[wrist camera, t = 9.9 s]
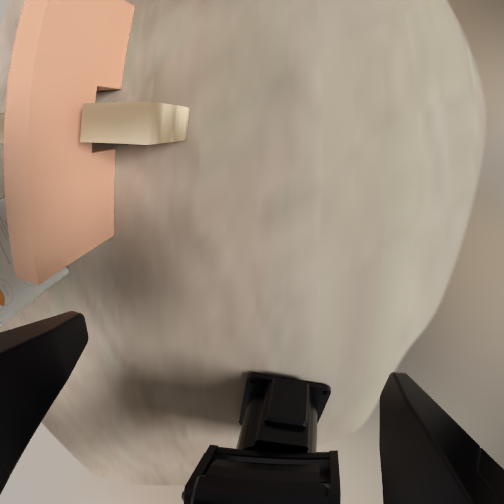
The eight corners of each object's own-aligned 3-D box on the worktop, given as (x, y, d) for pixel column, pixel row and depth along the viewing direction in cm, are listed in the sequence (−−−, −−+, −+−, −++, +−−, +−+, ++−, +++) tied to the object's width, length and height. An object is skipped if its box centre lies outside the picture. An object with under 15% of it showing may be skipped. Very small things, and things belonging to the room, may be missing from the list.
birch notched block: (186, 140, 18) (147, 144, 13) (43, 136, 19) (-5, 144, 14) (189, 107, 17) (151, 101, 12) (45, 110, 18) (-4, 114, 14)
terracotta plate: (114, 235, 21) (38, 285, 14) (92, 231, 21) (15, 276, 14) (135, 6, 15) (58, -34, 8) (110, 11, 15) (31, -22, 8)
